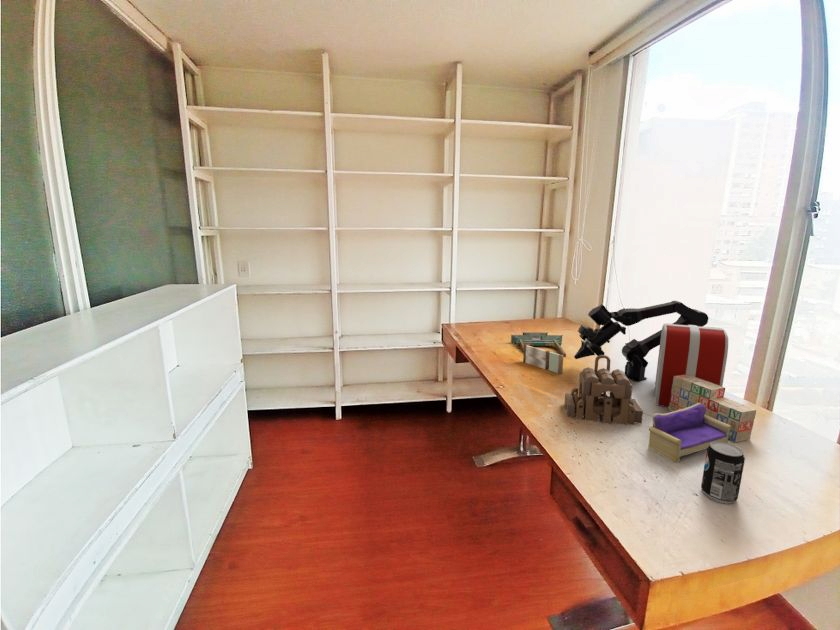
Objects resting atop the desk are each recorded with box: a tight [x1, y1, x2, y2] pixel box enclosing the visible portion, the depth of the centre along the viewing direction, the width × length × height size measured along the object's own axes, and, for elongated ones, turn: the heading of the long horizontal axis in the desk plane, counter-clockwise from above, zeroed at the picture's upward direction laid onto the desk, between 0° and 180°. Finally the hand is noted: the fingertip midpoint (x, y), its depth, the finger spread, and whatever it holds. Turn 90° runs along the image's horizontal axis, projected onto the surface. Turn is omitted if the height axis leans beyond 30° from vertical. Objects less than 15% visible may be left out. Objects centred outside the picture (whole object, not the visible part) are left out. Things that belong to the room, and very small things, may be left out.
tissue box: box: [654, 323, 729, 408], centre depth 133 cm, size 17×18×27 cm
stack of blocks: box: [668, 375, 757, 443], centre depth 118 cm, size 21×6×12 cm, turn 17°
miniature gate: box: [510, 331, 567, 358], centre depth 199 cm, size 27×6×30 cm
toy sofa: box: [648, 403, 732, 464], centre depth 106 cm, size 21×9×10 cm, turn 110°
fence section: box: [522, 345, 551, 371], centre depth 171 cm, size 14×2×8 cm, turn 35°
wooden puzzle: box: [564, 354, 644, 426], centre depth 127 cm, size 22×15×19 cm, turn 75°
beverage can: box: [700, 441, 746, 505], centre depth 87 cm, size 7×7×12 cm
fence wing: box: [548, 351, 564, 375], centre depth 163 cm, size 6×2×8 cm, turn 35°
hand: (574, 358), depth 160 cm, fingers closed
